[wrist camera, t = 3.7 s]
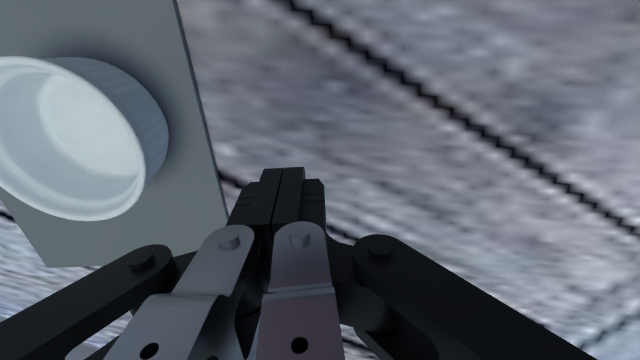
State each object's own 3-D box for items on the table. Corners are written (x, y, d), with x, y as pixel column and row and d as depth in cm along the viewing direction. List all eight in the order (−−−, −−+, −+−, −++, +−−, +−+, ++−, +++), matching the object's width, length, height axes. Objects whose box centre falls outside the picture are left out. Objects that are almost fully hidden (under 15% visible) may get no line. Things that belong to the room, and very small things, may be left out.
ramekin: (21, 144, 19) (-52, 176, 16) (40, 12, 16) (-49, 11, 12) (155, 204, 22) (121, 244, 18) (200, 101, 18) (167, 124, 14)
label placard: (-208, -125, 13) (-223, -129, 13) (138, -150, 13) (133, -155, 13) (51, 264, 25) (47, 267, 25) (238, 257, 25) (237, 261, 24)
